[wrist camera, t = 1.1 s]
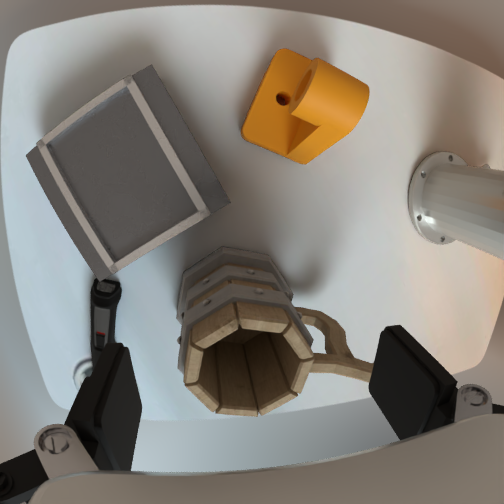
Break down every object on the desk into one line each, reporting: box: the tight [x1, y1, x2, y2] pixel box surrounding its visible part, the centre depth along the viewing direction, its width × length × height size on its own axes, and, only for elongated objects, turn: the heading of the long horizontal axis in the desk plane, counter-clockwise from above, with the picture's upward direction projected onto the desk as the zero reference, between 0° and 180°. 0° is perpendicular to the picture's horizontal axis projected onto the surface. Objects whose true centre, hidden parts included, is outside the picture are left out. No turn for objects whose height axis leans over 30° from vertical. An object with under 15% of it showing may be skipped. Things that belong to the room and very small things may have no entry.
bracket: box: [241, 49, 369, 164], centre depth 27 cm, size 11×7×12 cm, turn 158°
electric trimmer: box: [91, 278, 122, 370], centre depth 36 cm, size 4×16×3 cm, turn 166°
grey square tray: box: [26, 64, 231, 282], centre depth 29 cm, size 15×15×6 cm
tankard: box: [176, 247, 374, 417], centre depth 32 cm, size 20×13×15 cm, turn 77°
